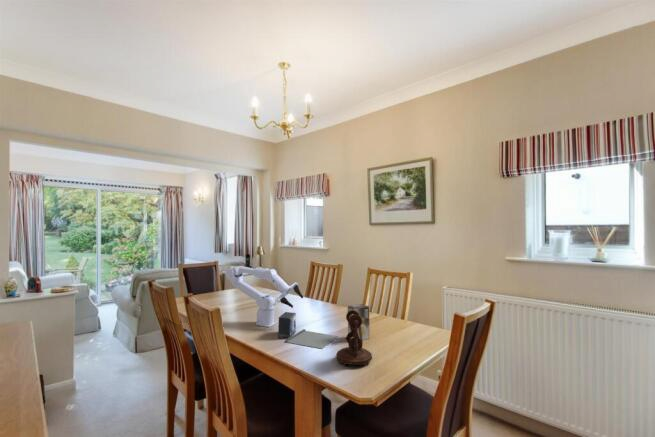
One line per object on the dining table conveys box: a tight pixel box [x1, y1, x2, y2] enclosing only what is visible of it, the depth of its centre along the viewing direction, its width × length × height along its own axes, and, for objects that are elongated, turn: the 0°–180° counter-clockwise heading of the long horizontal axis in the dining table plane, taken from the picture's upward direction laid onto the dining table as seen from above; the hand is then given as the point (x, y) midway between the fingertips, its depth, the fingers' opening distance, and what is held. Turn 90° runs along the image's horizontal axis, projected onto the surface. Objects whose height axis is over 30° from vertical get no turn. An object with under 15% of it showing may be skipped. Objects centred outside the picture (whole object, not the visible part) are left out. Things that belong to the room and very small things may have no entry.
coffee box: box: [347, 303, 371, 341], centre depth 156 cm, size 9×6×16 cm
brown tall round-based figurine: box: [335, 310, 373, 367], centre depth 130 cm, size 15×15×20 cm
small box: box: [277, 311, 297, 340], centre depth 161 cm, size 11×6×10 cm, turn 168°
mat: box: [284, 328, 338, 350], centre depth 155 cm, size 20×18×1 cm
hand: (297, 302), depth 172 cm, fingers open, 7 cm apart
